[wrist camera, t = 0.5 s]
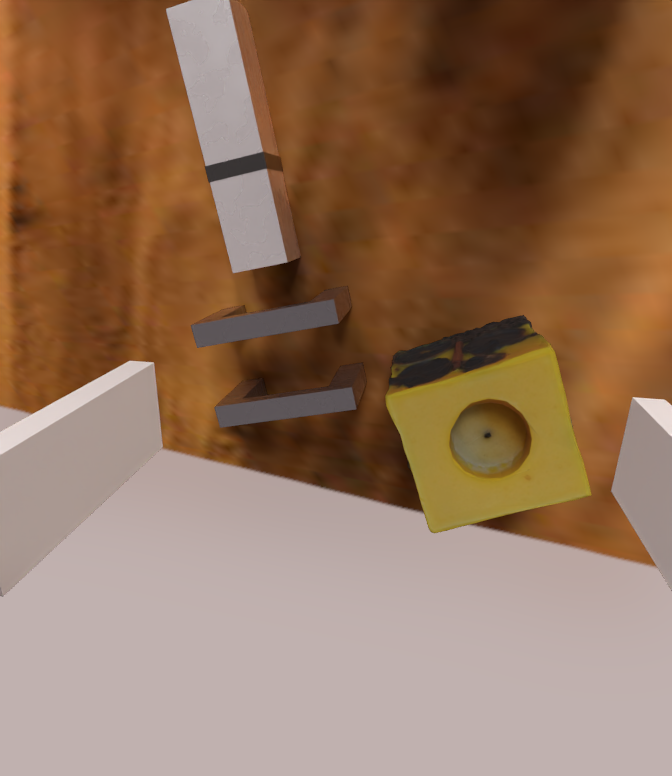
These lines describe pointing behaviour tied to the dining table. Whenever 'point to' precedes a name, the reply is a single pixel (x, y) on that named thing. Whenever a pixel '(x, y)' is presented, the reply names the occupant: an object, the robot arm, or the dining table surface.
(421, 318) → the dining table surface
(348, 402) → the collar
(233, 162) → the banded white block
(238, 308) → the collar
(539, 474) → the candle
